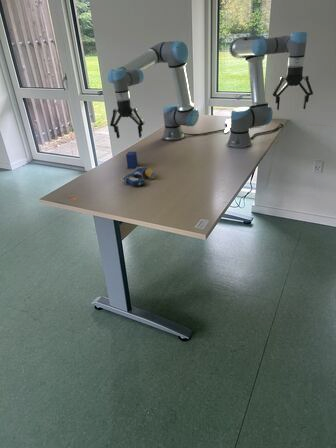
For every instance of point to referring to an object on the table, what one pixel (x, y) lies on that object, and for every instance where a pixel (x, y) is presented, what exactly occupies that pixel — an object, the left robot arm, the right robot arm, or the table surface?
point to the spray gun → (139, 176)
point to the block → (131, 159)
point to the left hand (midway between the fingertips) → (129, 137)
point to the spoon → (228, 125)
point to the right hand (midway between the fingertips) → (290, 109)
